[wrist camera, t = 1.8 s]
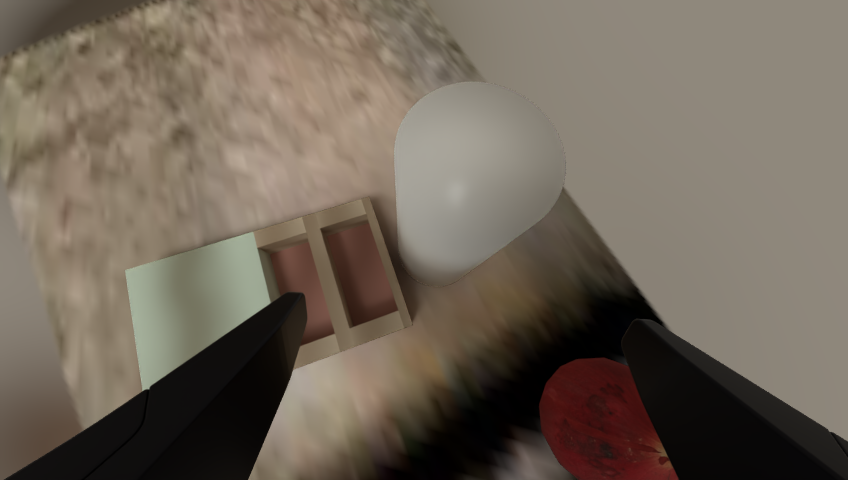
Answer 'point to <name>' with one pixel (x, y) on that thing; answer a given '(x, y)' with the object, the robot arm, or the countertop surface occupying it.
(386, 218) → the countertop surface
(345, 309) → the board
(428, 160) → the white cylinder
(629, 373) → the onion
